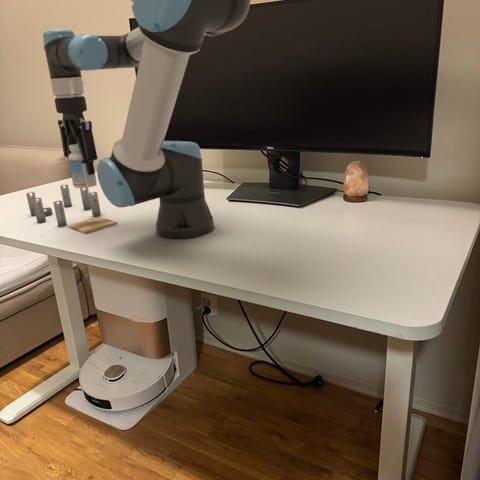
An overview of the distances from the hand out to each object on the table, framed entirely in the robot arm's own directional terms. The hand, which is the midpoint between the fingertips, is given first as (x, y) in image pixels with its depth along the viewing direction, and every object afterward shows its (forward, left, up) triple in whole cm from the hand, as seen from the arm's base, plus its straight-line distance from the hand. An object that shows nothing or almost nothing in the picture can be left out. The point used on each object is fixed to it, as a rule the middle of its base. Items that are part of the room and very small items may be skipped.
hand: (85, 184), depth 127 cm
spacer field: (+17, -1, -12) cm, 21 cm away
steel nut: (+23, +3, -12) cm, 26 cm away
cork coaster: (0, 0, -12) cm, 12 cm away
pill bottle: (0, 0, -1) cm, 1 cm away
